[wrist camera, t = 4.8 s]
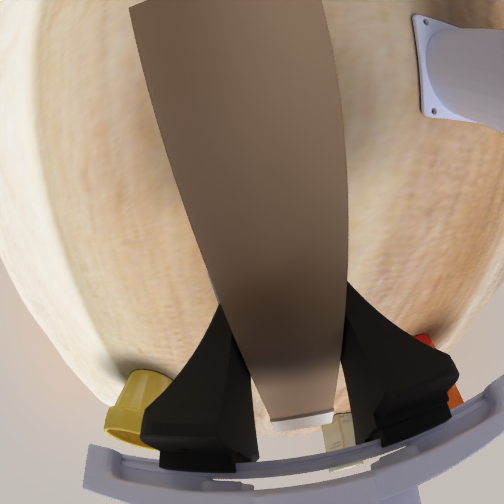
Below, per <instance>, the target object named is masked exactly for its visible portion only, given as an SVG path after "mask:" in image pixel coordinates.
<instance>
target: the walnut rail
mask: <svg viewBox="0 0 504 504" xmlns="http://www.w3.org/2000/svg"><path fill="white" fill-rule="evenodd" d="M129 12H130V17H131V21H132V26H133V30H134V35H135V39H136V44H137V48H138V52H139V56H140V60H141V64H142V68H143V72H144V76H145V80H146V83H147V87H148V91H149V94H150V98H151V102H152V105H153V109H154V112H155V116H156V119H157V123H158V126H159V129H160V133H161V136H162V139H163V143H164V146H165V149H166V152H167V156H168V159H169V162H170V165H171V168H172V171H173V174H174V177H175V180H176V183H177V186H178V189H179V192H180V195H181V198H182V201H183V204H184V207H185V210H186V213H187V216H188V219H189V221H190V224H191V227H192V230H193V233H194V235H195V238H196V241H197V244H198V246H199V249H200V252H201V254H202V257H203V260H204V262H205V265H206V268H207V270H208V273H209V276H210V278H211V281H212V283H213V286H214V288H215V291H216V294H217V296H218V299H219V301H220V304H221V306H222V309H223V311H224V313H225V316H226V318H227V321H228V323H229V326H230V328H231V330H232V333H233V335H234V338H235V340H236V342H237V345H238V347H239V349H240V352H241V354H242V356H243V359H244V361H245V363H246V365H247V368H248V370H249V372H250V374H251V377H252V379H253V381H254V383H255V386H256V388H257V390H258V392H259V394H260V396H261V399H262V401H263V403H264V405H265V407H266V409H267V411H268V414H269V416H270V421H271V424H272V426H273V428H274V430H275V432H282V431H289V430H296V429H302V428H308V427H313V426H319V425H324V424H328V423H332V419H333V415H334V408H333V404H334V398H335V392H336V386H337V379H338V372H339V365H340V357H341V349H342V339H343V330H344V319H345V306H346V291H347V271H348V186H347V166H346V151H345V139H344V128H343V118H342V109H341V101H340V94H339V87H338V80H337V73H336V67H335V62H334V56H333V51H332V46H331V41H330V36H329V31H328V27H327V22H326V18H325V14H324V10H323V6H322V2H321V0H147V1H144V2H142V3H139V4H137V5H134V6H132V7H129Z"/></svg>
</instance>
